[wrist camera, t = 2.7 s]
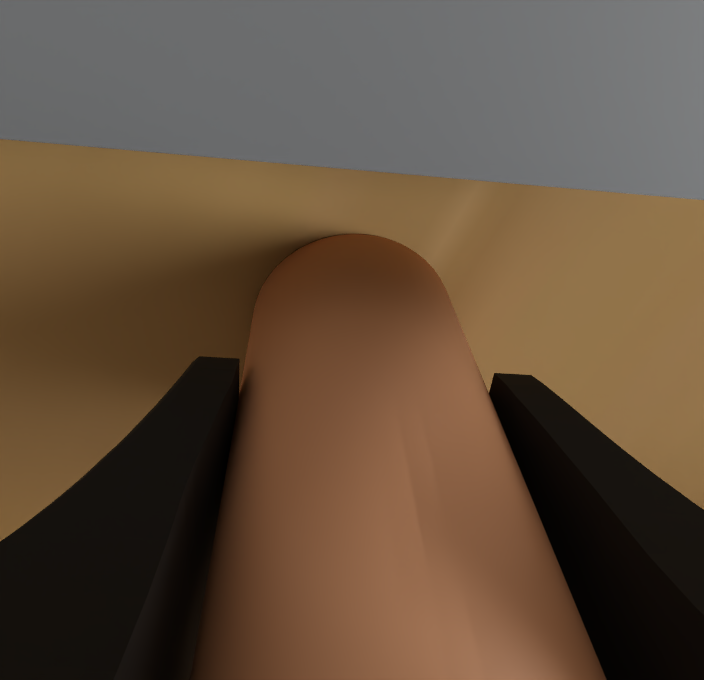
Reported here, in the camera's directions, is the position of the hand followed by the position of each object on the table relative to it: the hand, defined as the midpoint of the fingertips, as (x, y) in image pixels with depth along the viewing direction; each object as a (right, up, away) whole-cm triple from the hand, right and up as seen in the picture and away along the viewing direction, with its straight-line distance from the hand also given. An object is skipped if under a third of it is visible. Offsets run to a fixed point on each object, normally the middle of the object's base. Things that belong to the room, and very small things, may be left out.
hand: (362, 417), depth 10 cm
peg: (0, +1, +3) cm, 3 cm away
